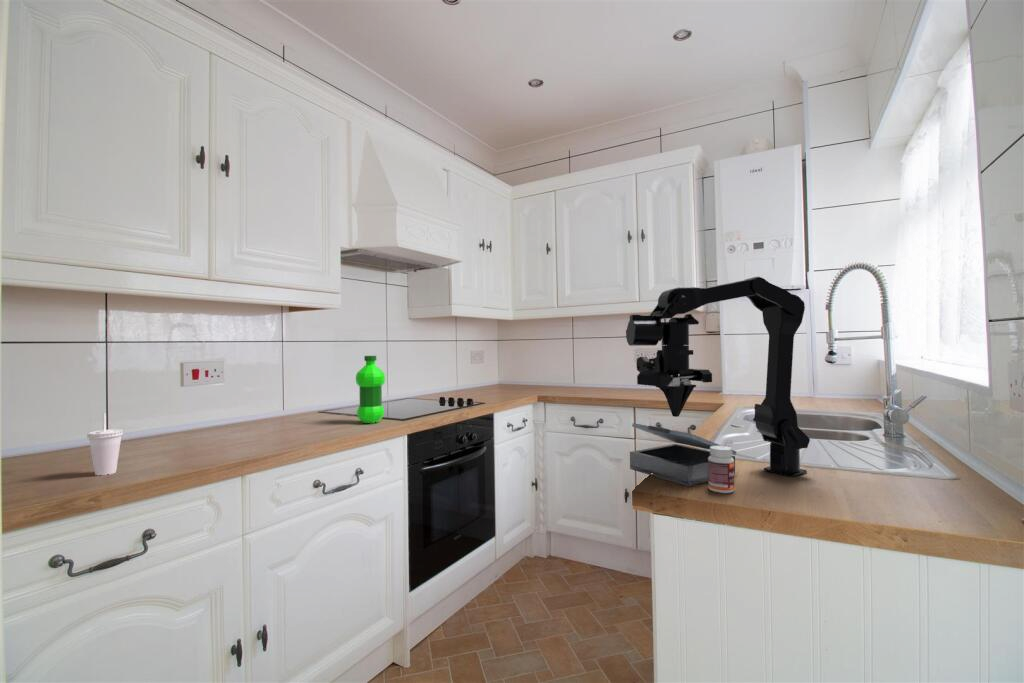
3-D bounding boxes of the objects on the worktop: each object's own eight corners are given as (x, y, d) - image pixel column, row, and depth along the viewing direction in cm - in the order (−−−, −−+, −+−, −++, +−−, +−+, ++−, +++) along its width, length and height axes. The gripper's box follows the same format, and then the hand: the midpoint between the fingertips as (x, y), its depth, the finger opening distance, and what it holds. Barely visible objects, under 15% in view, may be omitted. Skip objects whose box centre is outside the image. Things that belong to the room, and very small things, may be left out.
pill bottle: (735, 494, 92) (734, 451, 92) (708, 492, 93) (708, 449, 93) (733, 487, 96) (733, 446, 96) (708, 485, 98) (707, 444, 98)
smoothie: (80, 478, 106) (80, 415, 106) (96, 470, 112) (96, 411, 112) (115, 475, 108) (114, 414, 108) (128, 468, 114) (128, 410, 114)
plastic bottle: (372, 425, 171) (371, 356, 171) (350, 423, 176) (349, 356, 176) (390, 421, 180) (390, 355, 180) (369, 419, 185) (368, 355, 185)
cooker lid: (674, 442, 119) (675, 439, 119) (735, 455, 105) (736, 451, 105) (629, 425, 111) (629, 421, 111) (688, 436, 97) (689, 432, 97)
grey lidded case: (675, 459, 119) (675, 443, 119) (735, 474, 105) (735, 456, 105) (629, 469, 110) (629, 451, 111) (688, 486, 97) (688, 466, 97)
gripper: (672, 345, 117) (672, 408, 117) (618, 345, 106) (618, 415, 106) (713, 345, 107) (713, 414, 107) (658, 345, 97) (658, 422, 97)
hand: (675, 416), depth 105 cm, fingers closed
